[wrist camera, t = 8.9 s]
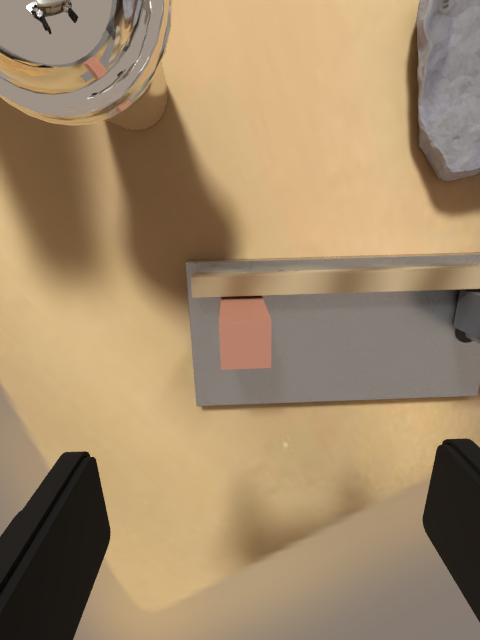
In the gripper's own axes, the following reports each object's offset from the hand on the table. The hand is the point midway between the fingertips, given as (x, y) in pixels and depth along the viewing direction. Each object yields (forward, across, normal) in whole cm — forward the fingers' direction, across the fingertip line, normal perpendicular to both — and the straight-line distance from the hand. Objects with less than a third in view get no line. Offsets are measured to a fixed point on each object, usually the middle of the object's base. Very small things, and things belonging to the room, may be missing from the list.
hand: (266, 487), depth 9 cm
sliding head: (+16, 0, +1) cm, 16 cm away
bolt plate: (+18, -8, +2) cm, 20 cm away
